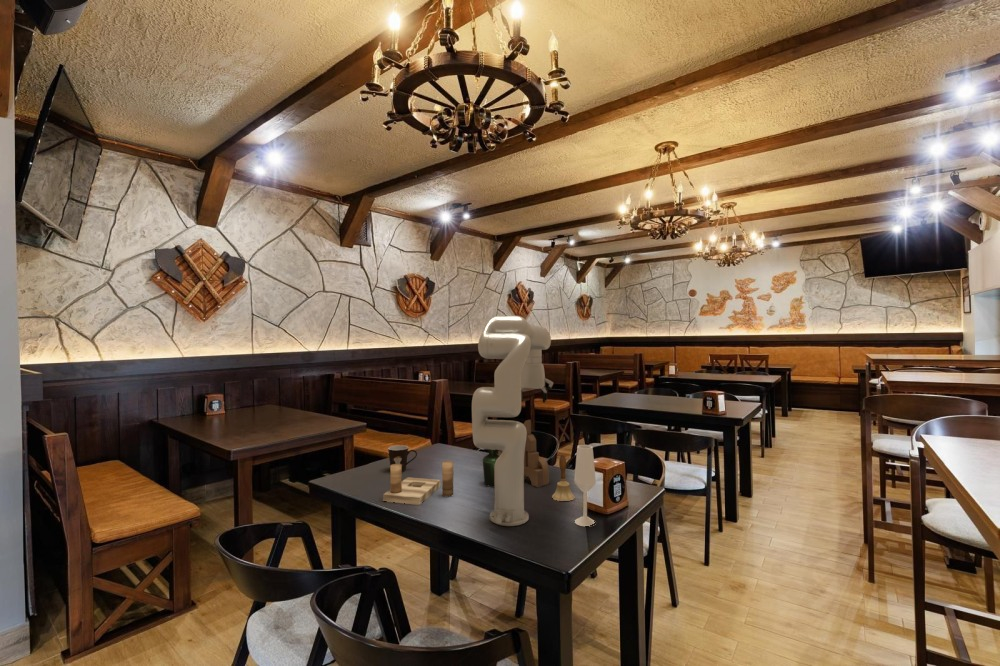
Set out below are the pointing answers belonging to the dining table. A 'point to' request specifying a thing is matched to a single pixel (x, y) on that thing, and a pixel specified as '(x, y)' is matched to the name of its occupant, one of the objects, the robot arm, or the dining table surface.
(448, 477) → the peg
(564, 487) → the hand bell
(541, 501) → the dining table surface
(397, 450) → the coffee mug
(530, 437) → the wooden toy
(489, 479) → the potion bottle
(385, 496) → the board
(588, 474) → the champagne flute
